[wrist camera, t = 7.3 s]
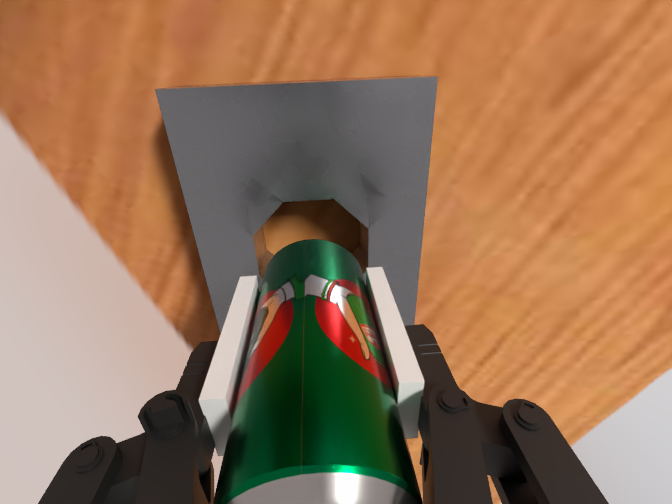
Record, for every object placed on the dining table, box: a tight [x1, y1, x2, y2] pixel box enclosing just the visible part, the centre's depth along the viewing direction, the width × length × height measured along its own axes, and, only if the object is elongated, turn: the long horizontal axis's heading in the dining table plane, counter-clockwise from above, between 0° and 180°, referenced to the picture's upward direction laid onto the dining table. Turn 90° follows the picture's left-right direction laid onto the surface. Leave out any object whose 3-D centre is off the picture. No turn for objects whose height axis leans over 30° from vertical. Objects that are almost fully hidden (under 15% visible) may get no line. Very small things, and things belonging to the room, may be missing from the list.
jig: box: [155, 76, 438, 334], centre depth 21 cm, size 18×13×4 cm
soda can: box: [213, 239, 423, 504], centre depth 12 cm, size 5×5×12 cm
